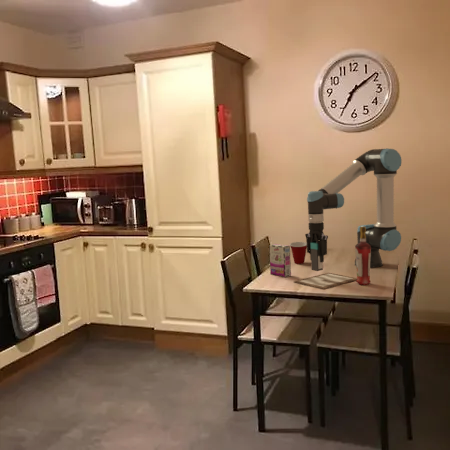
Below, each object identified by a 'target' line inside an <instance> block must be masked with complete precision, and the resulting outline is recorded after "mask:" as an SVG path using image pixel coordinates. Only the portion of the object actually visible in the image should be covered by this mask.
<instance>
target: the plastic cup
mask: <svg viewBox="0 0 450 450" xmlns="http://www.w3.org/2000/svg"><path fill="white" fill-rule="evenodd" d="M289 246H290V250H291V253H292V258H293V263H294V264H295V265H304V264H305V259H306V256H307V255H306V253H307V242H305V241H294V242H291V243H289Z"/></svg>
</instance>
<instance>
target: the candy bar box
mask: <svg viewBox="0 0 450 450" xmlns="http://www.w3.org/2000/svg"><path fill="white" fill-rule="evenodd" d="M269 264H270V265H269V270H270V275H272V274H273V275H272V276H278V277H282V278H283V277H284V278H286V277H287V278H288V277H290V276H292V271H291V269H292V268H291V246H290V245H287V244H280V243H279V244H278V243H273V244H270V245H269Z"/></svg>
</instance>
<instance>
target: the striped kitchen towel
mask: <svg viewBox="0 0 450 450" xmlns="http://www.w3.org/2000/svg"><path fill="white" fill-rule="evenodd" d="M356 281H357V277H352V276H347V275H343V274H338V273H337V274H336V273H333V272H324V273H322V274H318V275H314V276H310V277H305V278H302V279H298V280H295V281H294V280H293V283H294V284H299V285H302V286H306V287H311V288H315V289H320V290H326V289H330V288H334V287H337V286H341V285H344V284H348V283H351V282H356Z"/></svg>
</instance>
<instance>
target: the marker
mask: <svg viewBox="0 0 450 450" xmlns="http://www.w3.org/2000/svg"><path fill="white" fill-rule="evenodd" d="M318 255H319V251H318V243H316V242H314V243H311V259H310V261H311V262H310V264H311V266H312V267H311V270H312V271H316V272H320V271H323V270H324V267H323V268H321V269H318Z"/></svg>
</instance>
